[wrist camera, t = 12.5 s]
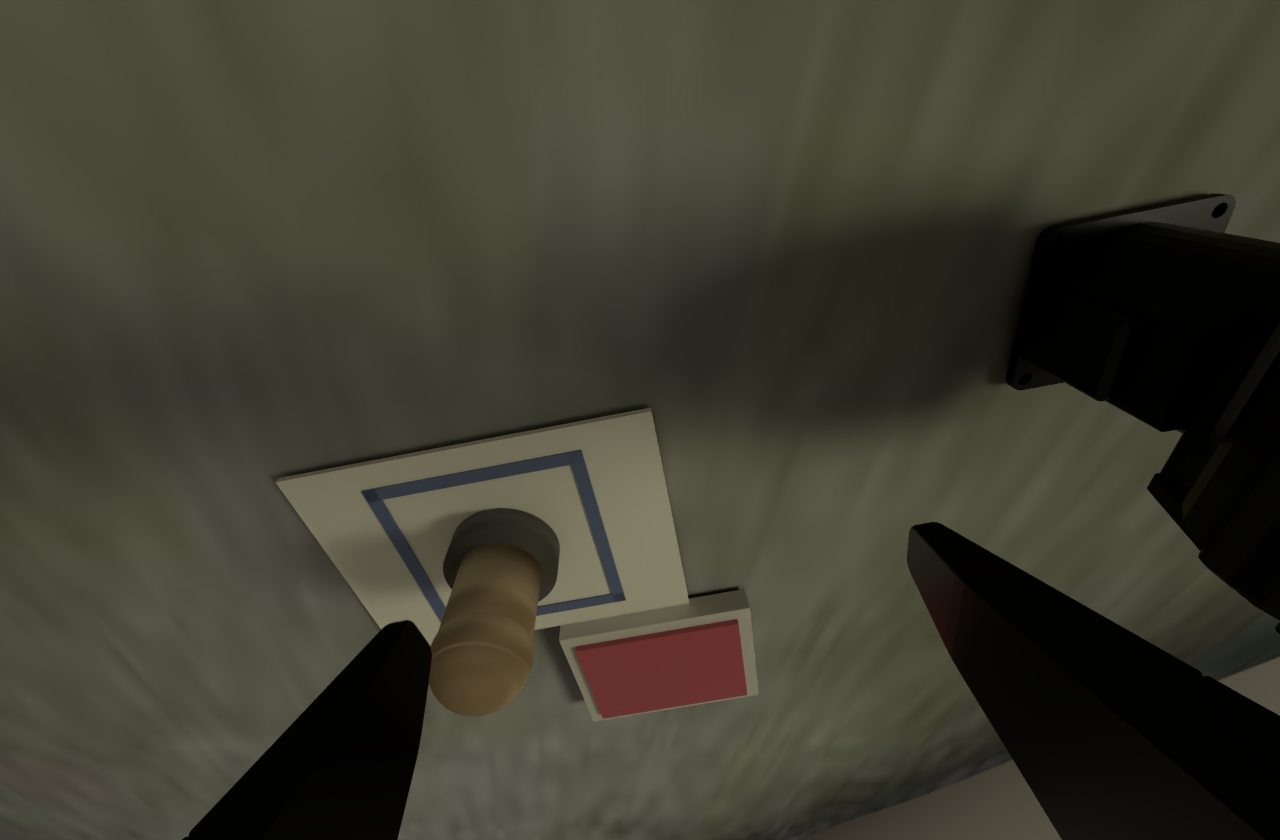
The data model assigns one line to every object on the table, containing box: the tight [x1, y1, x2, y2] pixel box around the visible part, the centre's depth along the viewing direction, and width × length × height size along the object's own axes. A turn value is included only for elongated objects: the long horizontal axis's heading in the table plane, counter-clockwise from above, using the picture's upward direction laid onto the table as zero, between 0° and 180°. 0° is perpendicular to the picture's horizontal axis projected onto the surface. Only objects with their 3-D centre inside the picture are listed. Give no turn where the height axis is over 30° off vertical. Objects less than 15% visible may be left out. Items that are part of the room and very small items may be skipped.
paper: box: [276, 408, 689, 647], centre depth 24 cm, size 16×12×1 cm
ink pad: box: [559, 589, 759, 722], centre depth 28 cm, size 10×8×2 cm
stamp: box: [429, 508, 560, 716], centre depth 20 cm, size 5×5×8 cm
